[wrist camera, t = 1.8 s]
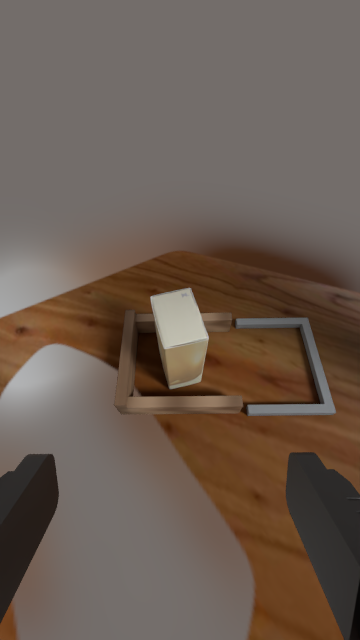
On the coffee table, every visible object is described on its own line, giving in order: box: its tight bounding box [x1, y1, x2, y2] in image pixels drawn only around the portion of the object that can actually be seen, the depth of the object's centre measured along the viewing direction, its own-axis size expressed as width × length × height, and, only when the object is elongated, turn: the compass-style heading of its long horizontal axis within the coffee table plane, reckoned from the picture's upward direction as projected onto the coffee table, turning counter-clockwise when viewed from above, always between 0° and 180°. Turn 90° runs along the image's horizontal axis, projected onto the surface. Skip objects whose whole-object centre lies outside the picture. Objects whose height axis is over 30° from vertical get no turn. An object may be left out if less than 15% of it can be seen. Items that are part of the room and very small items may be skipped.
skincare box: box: [150, 288, 209, 389], centre depth 31 cm, size 6×4×12 cm
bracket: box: [235, 318, 336, 416], centre depth 36 cm, size 10×13×1 cm
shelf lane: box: [114, 310, 243, 414], centre depth 35 cm, size 14×12×4 cm
